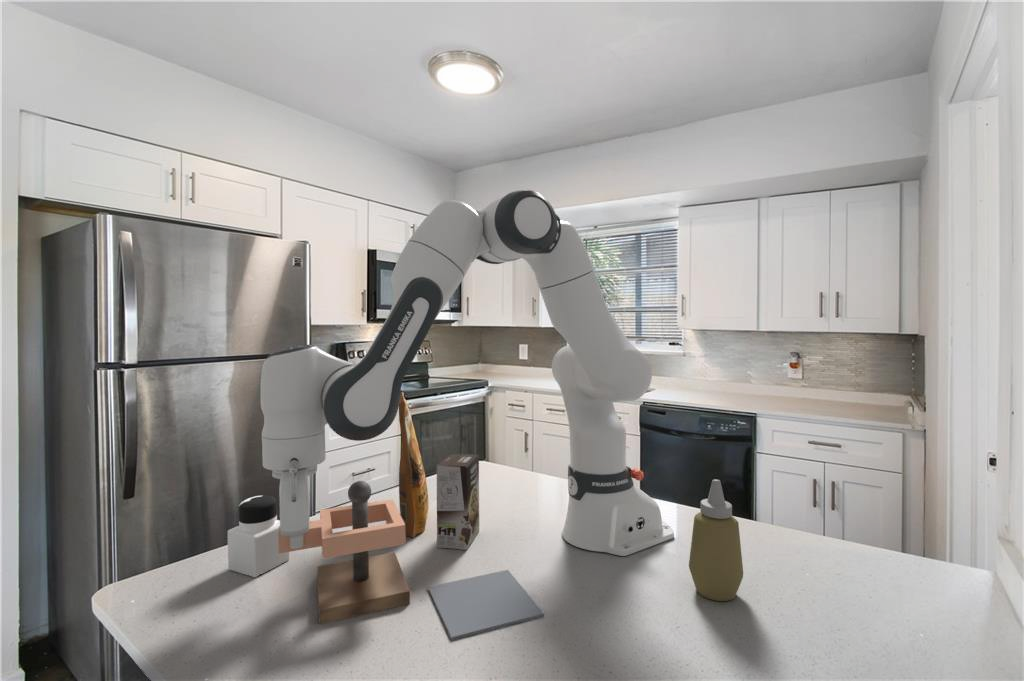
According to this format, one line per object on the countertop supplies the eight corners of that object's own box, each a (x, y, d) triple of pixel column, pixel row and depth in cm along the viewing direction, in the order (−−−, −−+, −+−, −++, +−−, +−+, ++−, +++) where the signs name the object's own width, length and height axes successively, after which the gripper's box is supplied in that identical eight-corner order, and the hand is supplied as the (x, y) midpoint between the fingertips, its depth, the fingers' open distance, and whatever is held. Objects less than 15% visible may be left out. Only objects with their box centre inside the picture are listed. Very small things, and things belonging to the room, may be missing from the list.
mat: (507, 572, 86) (507, 569, 86) (543, 616, 73) (543, 613, 73) (428, 589, 80) (428, 586, 80) (451, 640, 67) (451, 637, 67)
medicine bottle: (290, 560, 90) (288, 495, 90) (255, 578, 84) (253, 509, 83) (263, 552, 93) (261, 490, 93) (227, 570, 87) (225, 502, 86)
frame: (393, 516, 88) (392, 499, 87) (405, 543, 76) (405, 524, 76) (281, 533, 81) (280, 515, 81) (277, 567, 70) (276, 546, 69)
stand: (394, 563, 89) (393, 465, 88) (409, 603, 76) (408, 489, 75) (317, 577, 84) (315, 474, 83) (319, 623, 71) (316, 501, 70)
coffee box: (468, 550, 94) (467, 466, 93) (435, 547, 95) (434, 464, 94) (480, 530, 103) (480, 453, 102) (451, 528, 104) (450, 452, 103)
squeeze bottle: (718, 612, 73) (720, 492, 73) (677, 586, 80) (678, 477, 80) (754, 598, 77) (756, 483, 76) (712, 574, 84) (713, 470, 84)
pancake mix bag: (390, 542, 97) (388, 401, 96) (401, 506, 116) (400, 388, 115) (424, 540, 98) (422, 400, 97) (430, 505, 117) (429, 387, 116)
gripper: (318, 467, 67) (321, 566, 68) (315, 435, 86) (317, 513, 87) (266, 473, 65) (269, 576, 65) (275, 439, 84) (278, 519, 84)
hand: (297, 540), depth 76 cm, fingers closed on frame, 3 cm apart
